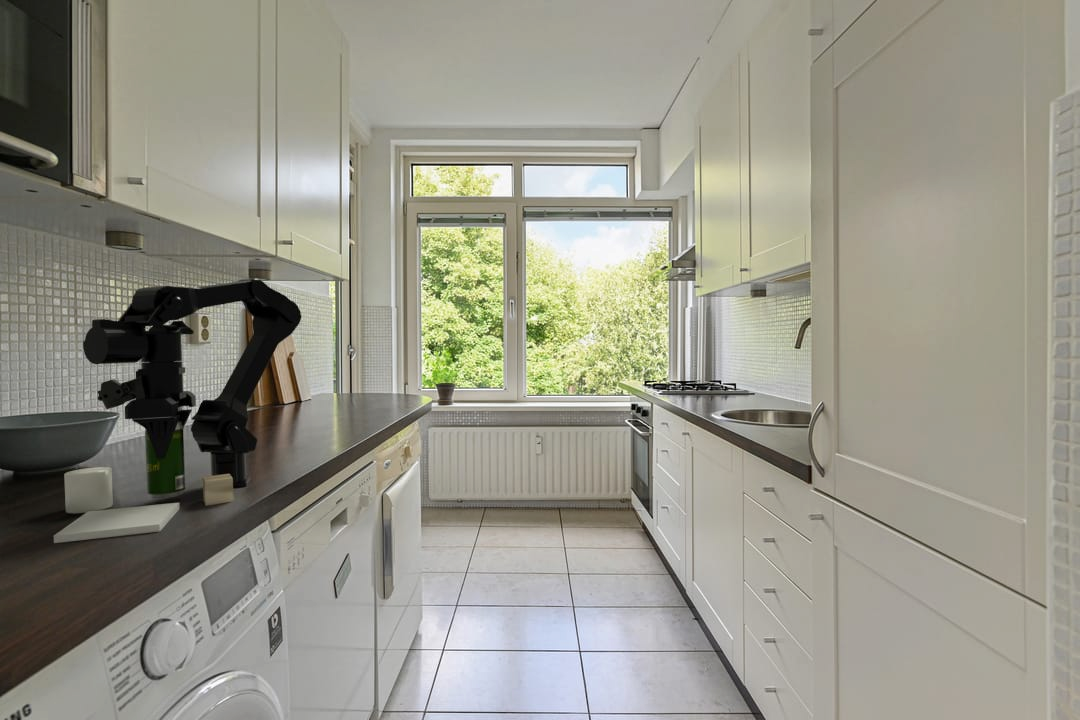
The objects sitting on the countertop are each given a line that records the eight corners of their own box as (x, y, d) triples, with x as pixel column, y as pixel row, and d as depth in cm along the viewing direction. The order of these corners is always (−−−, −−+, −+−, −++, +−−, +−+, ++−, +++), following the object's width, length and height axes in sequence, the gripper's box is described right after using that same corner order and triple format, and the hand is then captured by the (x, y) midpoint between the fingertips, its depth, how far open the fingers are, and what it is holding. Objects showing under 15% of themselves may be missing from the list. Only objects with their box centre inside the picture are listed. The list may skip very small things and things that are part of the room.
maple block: (203, 500, 97) (202, 477, 97) (230, 496, 99) (229, 473, 99) (205, 506, 94) (205, 481, 94) (233, 501, 96) (232, 478, 96)
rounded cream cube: (74, 505, 95) (73, 469, 95) (117, 501, 97) (116, 465, 97) (59, 515, 90) (57, 476, 89) (105, 510, 92) (104, 473, 92)
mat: (88, 518, 88) (88, 511, 88) (179, 508, 92) (179, 502, 92) (53, 543, 76) (53, 535, 76) (159, 531, 81) (159, 524, 81)
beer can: (191, 490, 99) (189, 420, 99) (175, 498, 94) (172, 424, 94) (158, 491, 99) (156, 421, 98) (140, 499, 93) (137, 426, 93)
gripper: (122, 362, 102) (125, 450, 102) (80, 365, 84) (85, 471, 85) (194, 360, 106) (197, 445, 106) (169, 363, 88) (173, 464, 89)
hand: (165, 455), depth 96 cm, fingers closed on beer can, 5 cm apart
